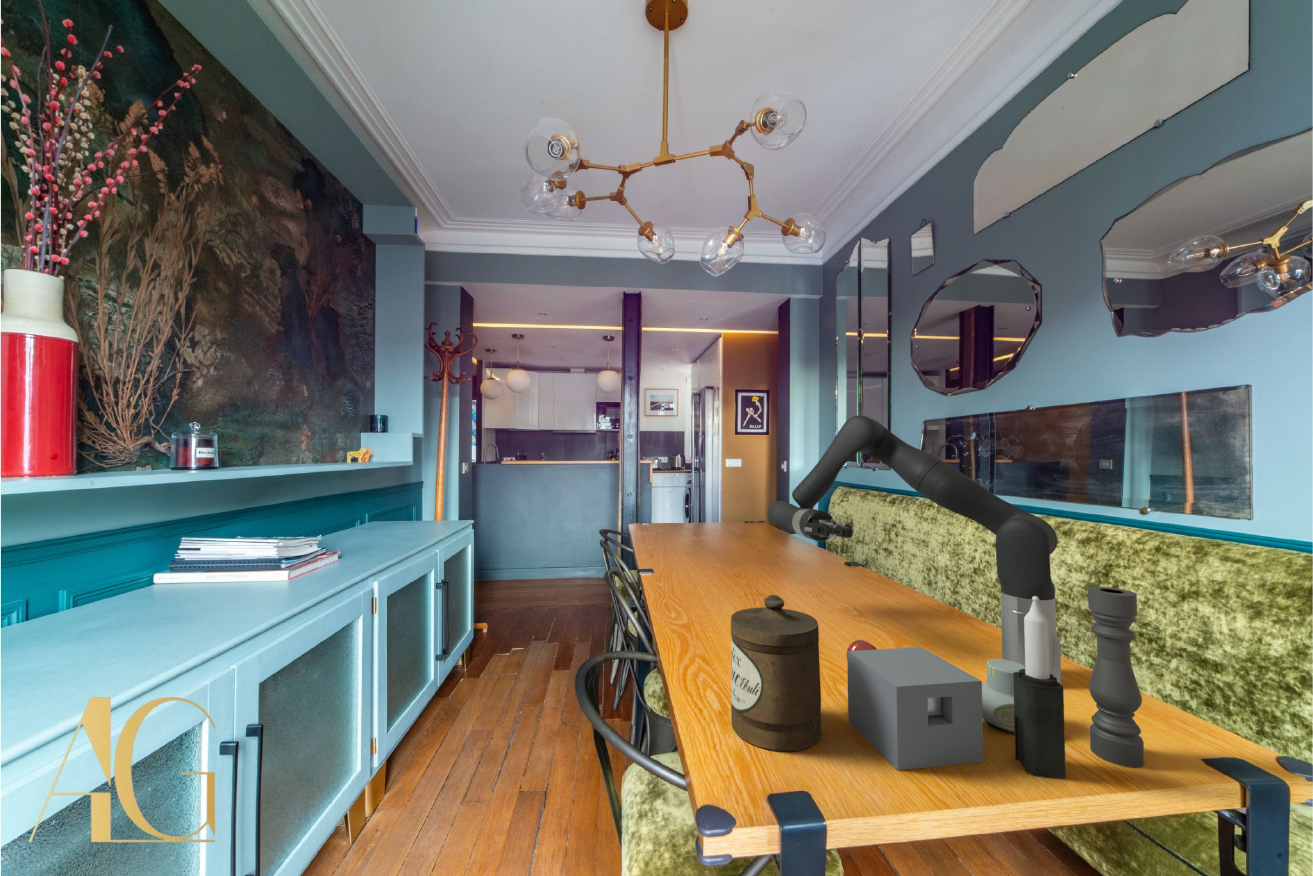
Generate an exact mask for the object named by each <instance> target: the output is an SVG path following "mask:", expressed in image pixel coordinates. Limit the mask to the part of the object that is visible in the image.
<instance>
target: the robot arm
mask: <svg viewBox="0 0 1313 876" xmlns="http://www.w3.org/2000/svg"><path fill="white" fill-rule="evenodd" d="M857 453H862V454H865V455H867V456H869V457H871V458H873V459H876V460H877V461H879V462H881V463H882V464H884V465H886V466H888V467H889V468H890V469H892V470H893V471H894V472H895V473H896V475H897V476H899V477H900V478H901V479H902V481H904V482H905V483H906V484H907V485H909V486H910V487H911V489H913V490H914V491H916V492H917V493H919V494H920V495H922V496H923V497H924V498H926V499H928V500H930V502H932V503H935V504H936V505H938V506H939V507H942V508H943V509H946V510H947V511H950V512H952V513H955V514H957V515H960V516H963V517H964V518H966V519H967V518H968V519H969V520H972V521H974V522H976V523H977V524H980V525H981V526H982V527H983V528H985V529H987V530H989V532H991V533H993V534H994V535H995V557H996V558H995V559H996V573H997V577H998V581H999V583H1000V584H999V585H1000V609H1001V610H1000V613H1001V614H1000V616H1001V617H1000V618H1001V659H1004V660H1010V661H1013V662H1016V663H1019V664H1021V665H1023V666H1024V667H1025V634H1024V617H1025V616H1026V615H1027V613H1028V612H1029V611H1030V608H1031V605H1032V602H1033V600H1032V597H1034V596H1037V597H1038V598H1039V601H1038V602H1039V605H1040V608H1041V610H1042V613H1043V615H1044V616H1045V617H1046V619H1047V620H1048V627H1049V668H1050V674H1052V675H1053V677H1056V678H1057V682H1058V683H1060V684H1061V685H1062V661H1061V640H1060V638H1059V636H1057V624H1056V623H1057V622H1056V621H1057V619H1056V613H1057V612H1056V586H1055V584H1054V582H1053V580H1052V575H1051V571H1052V570H1051V554H1052V553H1054V551H1055V550H1056V549H1057V547H1058V542H1059V541H1058V536H1057V533H1056V531H1055V529H1054V528H1053V527H1052V526H1051V524H1050V523H1048V522H1047V521H1046V520H1045V519H1043V518H1041V517H1039V516H1037V515H1036V514H1035V515H1034V514H1033V513H1030V512H1029V511H1026V510H1024V509H1022V508H1019V507H1018V506H1015V504H1012V503H1010V502H1008V501H1006V500H1004V499H1003V498H1000V497H998V496H997V495H995V494H994V493H992V492H991V491H990V490H988V489H987V488H985V487H984V486H982V485H981V484H980V483H978V482H977V481H976V480H974V479H972V478H970V477H969V476H968V475H966V474H964V473H963V472H961V471H960V470H958V469H957V468H955V467H953V465H950V464H948V463H947V462H945V461H943V460H941V459H939V458H938V457H936V456H934V455H932V454H930V453H929V452H927V451H924V450H922V449H919V448H917V447H915V446H912V445H911V444H908V443H907V442H905V441H904V440H902V439H901V438H900V437H898V436H897V435H895V434H894V433H893V432H891V431H890V430H889V429H888V428H886V427H885V425H883V424H882V423H880V422H879V421H878V420H875V419H873V418H872V417H869V416H866V415H862V414H861V415H854V416H852V417H849V419H847V420H846V421H845V422H844V423H843V425H842V426H841V428H840V429H839V430H838V432H837V434H836V436H835V437H834V439H833V440H832V442H831V443H830V445H829V446H828V447H827V449H826V450H825V452H824V453H823V455H822V456H821V457H820V459H819V460H818V462H817V463H816V464H815V466H813V468H812V469H811V470H810V471H809V472H808V473H807V475H806V476H805V477H804V478H803V479H802V480H801V481H800V483H798V485H797V486H796V487H795V488H794V489H793V490H792V492H791V497H792V498H793V501H795V503H797V505H798V506H796V505H795V504H792V503H791V502H788V501H785V500H777V501H775V502H772V503H771V504H770V506H769V507H768V509H767V512H766V513H767V514H766V515H767V519H768V521H769V522H770V523H771V524H773V525H775V526H776V527H778V529H780V530H782V531H784V532H785V533H786V534H788V535H795V534H796V535H800V536H801V537H804V538H805V539H809V540H813V541H816V542H825V541H828V540H829V539H830V538H837V537H839V538H843V539H852V537H853V534H854V532H855V529H854V527H855V526H854V522H852V521H849V522H845V524H843V523H842V522H841V521H838V520H836V519H834V518H833V516H832V515H831V514H830V513H828V512H827V511H825V510H819V509H814V507H815V506H816V505H817V504H818V503H819V501H821V500H823V499H822V498H824V497H825V495H826V494H827V493H828V492H829V491H830V490H831V487H832V486H833V485H834V483H835V481H836V479H837V477H838V475H839V473H840V472H841V470H842V468H843V467H844V466H845V465H846V463H847V462H849V460H850V459H852V458H853V457H854V456H855V455H857Z"/></svg>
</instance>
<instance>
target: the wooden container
mask: <svg viewBox="0 0 1313 876" xmlns="http://www.w3.org/2000/svg"><path fill="white" fill-rule="evenodd" d="M763 601H764V607H750V608H749V607H748V608H744V609H740V610H737V611H735V612H733V613H732V615H731V617H730V637H731V641H730V644H731V646H730V648H731V649H730V650H731V652H730V653H731V654H730V655H731V657H730V658H731V660H730V661H731V663H730V702H731V703H730V705H731V708H730V710H731V712H730V713H731V719H730V720H731V727H732V729H733V731H734V733H735V734H736V735H737V736H738V737H739V738H741V740H744V741H745V742H747V743H748V744H751V745H753V746H755V747H758V748H762V749H766V750H770V751H777V752H778V751H779V752H794V751H801V750H804V749H808V748H809V747H812V746H814V745H815V744H817V743H818V742H819V740H820V739H821V736H822V692H821V691H822V689H821V688H822V687H821V686H822V685H821V668H820V644H819V643H820V641H819V640H820V638H819V637H820V629H819V623H818V620H817V619H816V618H815V617H814V616H812V615H810V614H808V613H805V612H802V611H799V610H794V609H793V610H792V609H788V608H784V606H785V601H784V599H783V598H782V597H780V596H779V595H776V594H770V595H767V597H765V598H764V600H763Z"/></svg>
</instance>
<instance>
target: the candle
mask: <svg viewBox="0 0 1313 876" xmlns="http://www.w3.org/2000/svg"><path fill="white" fill-rule="evenodd" d="M1032 600H1033V602H1032V605H1031V608H1030V611H1029V612H1028V613H1027V615H1026V616H1025V617H1024V634H1025V669H1021V670H1019V672H1014V673H1013V684H1014V729H1015V733H1014V758H1015V760H1016V761H1018V762H1019V764H1020V765H1021V766H1022V767H1023V769H1024V772H1025V773H1027V774H1029V775H1032V776H1034V777H1039V776H1040V777H1041V776H1042V777H1041V778H1048V779H1049V777H1051V778H1050V779H1057V778H1064V779H1066V743H1065V741H1066V739H1065V737H1066V735H1065V734H1066V733H1065V701H1064V699H1065V698H1064V695H1065V694H1064V686H1063V685H1062V683H1061V684H1060V683H1058V682H1057V678H1056V677H1053V675H1052V674H1050V668H1049V627H1048V620H1047V619H1046V617H1045V616H1044V615H1043V613H1042V610H1041V608H1040V605H1039V602H1038V601H1039V598H1038V597H1037V596H1034V597H1032Z"/></svg>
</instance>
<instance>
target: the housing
mask: <svg viewBox="0 0 1313 876" xmlns="http://www.w3.org/2000/svg"><path fill="white" fill-rule="evenodd" d="M876 649H877V648H876ZM846 653H847V657H846V660H847V722H848V723H849V725H851V726H852V727H853V728H854V729H855V730H856V731H857V732H858V733H859V734H860V735H861V736H862V737H863V738H864V739H865V740H866V741H867V742H868V743H869V744H870V745H871V746H873V748H874V749H875V750H877V752H878V753H879V754H881V756H882V757H883V758H885V759H886V761H888V762H889V763H890V764H891V765H892V766H893V767H894V768H895V769H896V770H897V771H905V770H914V769H924V768H925V769H926V768H935V767H936V768H937V767H947V766H957V765H958V766H959V765H966V764H977V763H979V764H980V763H984V733H983V732H984V726H983V725H984V724H983V723H984V722H983V720H984V719H983V716H982V684H983V681H982V680H981V679H979V678H978V677H976V676H974V675H972V674H971V673H968V672H967V671H966V670H963V669H962V668H959V667H958V666H956V665H955V664H953V663H951V662H949V661H947V660H945V659H943V658H942V657H940V656H938V655H936V654H935V653H933V652H931V651H930V650H928V649H925V647H921V646H916V647H915V646H913V647H912V646H911V647H897V648H895V647H894V648H881V649H879V648H878V649H877V650H859V651H847V650H846ZM939 697H941V715H936V716H928V698H939Z"/></svg>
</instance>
